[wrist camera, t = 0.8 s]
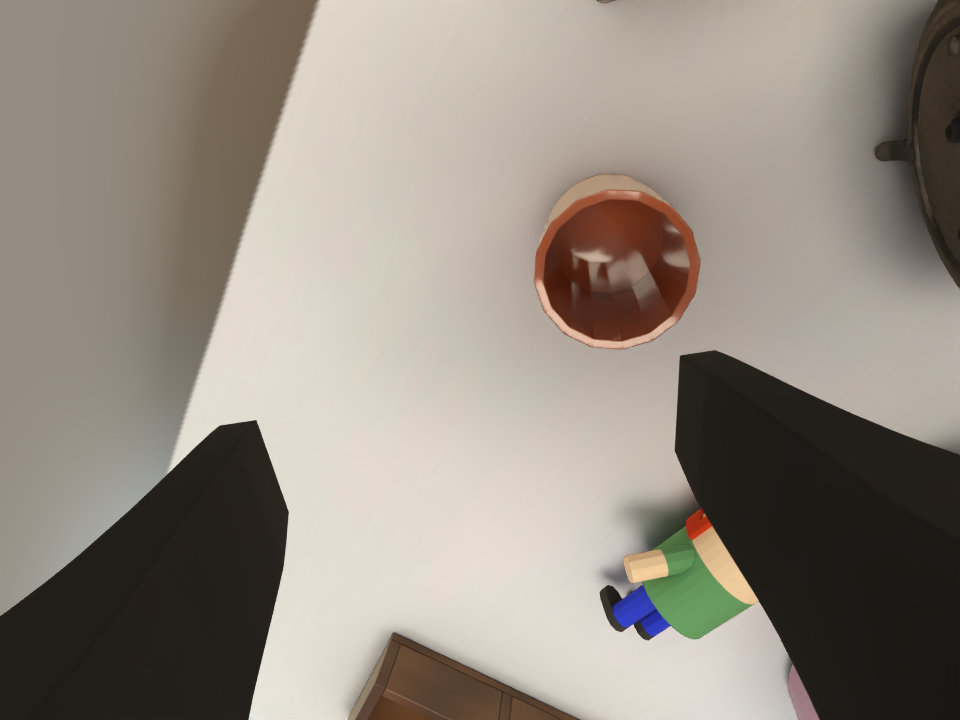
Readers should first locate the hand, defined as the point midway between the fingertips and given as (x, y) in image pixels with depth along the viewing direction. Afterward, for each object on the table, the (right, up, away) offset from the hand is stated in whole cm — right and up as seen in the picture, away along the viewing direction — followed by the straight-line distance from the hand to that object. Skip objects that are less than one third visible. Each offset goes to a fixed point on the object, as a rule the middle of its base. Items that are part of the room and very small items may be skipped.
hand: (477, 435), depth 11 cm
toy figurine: (+11, -7, +19) cm, 24 cm away
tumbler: (+5, +6, +15) cm, 17 cm away
